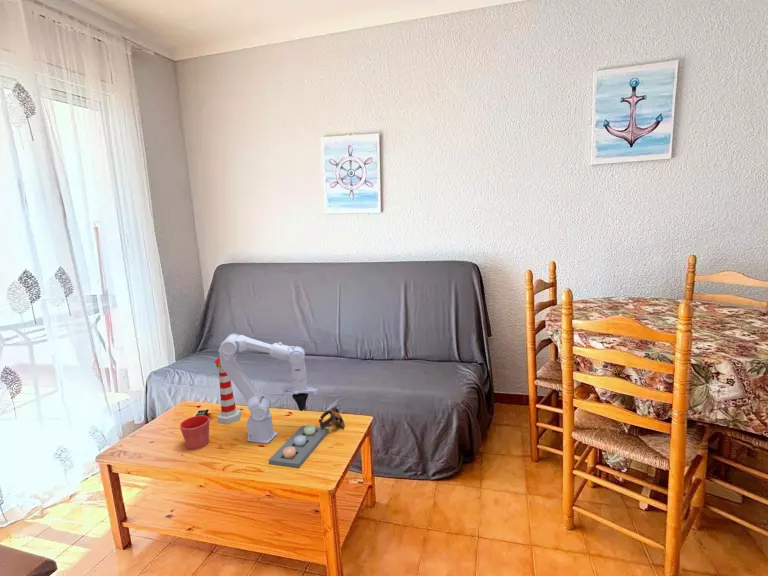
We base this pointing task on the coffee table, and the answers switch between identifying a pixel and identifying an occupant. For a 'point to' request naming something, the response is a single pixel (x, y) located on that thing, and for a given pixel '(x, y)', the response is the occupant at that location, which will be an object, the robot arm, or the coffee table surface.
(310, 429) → the sage button
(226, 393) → the decorative lighthouse
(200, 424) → the flower pot
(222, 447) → the coffee table surface
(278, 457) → the grey slotted board
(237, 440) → the coffee table surface
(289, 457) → the terracotta button
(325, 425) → the brown curved piece
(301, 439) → the slate button
